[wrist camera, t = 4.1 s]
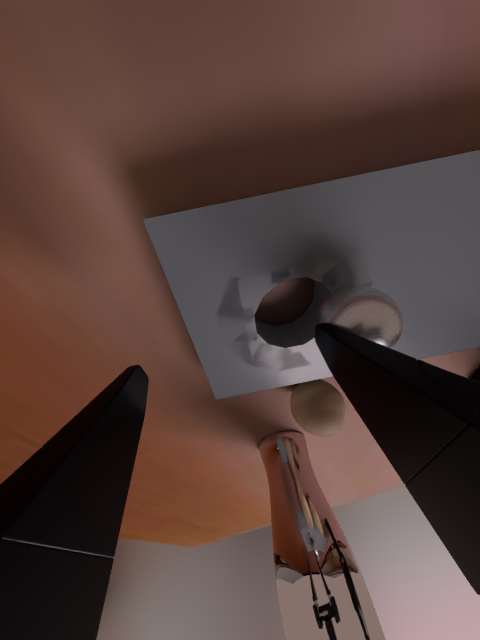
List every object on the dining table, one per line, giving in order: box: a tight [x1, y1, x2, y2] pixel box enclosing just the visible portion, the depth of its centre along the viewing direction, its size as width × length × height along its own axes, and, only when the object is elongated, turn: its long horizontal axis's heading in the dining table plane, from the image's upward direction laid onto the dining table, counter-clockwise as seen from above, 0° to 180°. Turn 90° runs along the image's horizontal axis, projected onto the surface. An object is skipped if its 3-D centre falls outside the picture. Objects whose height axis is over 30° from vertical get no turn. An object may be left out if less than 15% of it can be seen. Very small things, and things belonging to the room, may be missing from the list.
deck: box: [143, 150, 480, 400], centre depth 11 cm, size 22×12×2 cm, turn 100°
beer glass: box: [259, 431, 385, 640], centre depth 18 cm, size 7×7×15 cm
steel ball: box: [316, 286, 403, 349], centre depth 9 cm, size 4×4×4 cm
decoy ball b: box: [290, 379, 347, 437], centre depth 16 cm, size 4×4×4 cm
